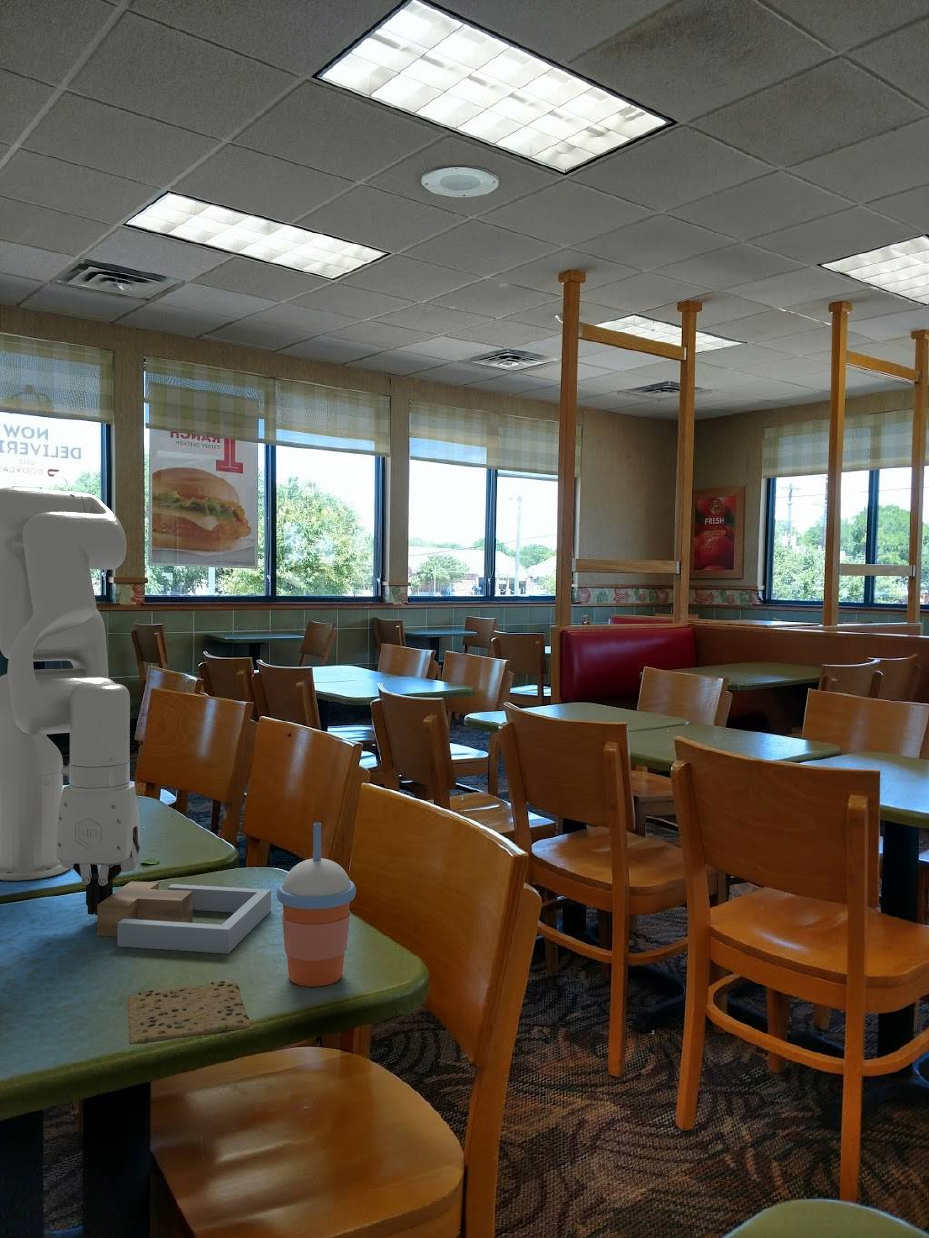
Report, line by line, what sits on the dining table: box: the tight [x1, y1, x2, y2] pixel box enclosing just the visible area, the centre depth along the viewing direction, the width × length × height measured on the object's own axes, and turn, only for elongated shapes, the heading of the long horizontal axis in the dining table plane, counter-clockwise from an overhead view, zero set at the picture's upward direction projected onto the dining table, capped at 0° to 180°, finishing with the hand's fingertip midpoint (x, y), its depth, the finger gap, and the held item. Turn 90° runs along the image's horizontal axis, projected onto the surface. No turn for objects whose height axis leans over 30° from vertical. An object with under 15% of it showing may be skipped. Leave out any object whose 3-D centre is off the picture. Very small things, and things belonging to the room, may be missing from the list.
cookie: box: [127, 980, 251, 1045], centre depth 102 cm, size 12×12×1 cm
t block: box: [96, 880, 194, 937], centre depth 128 cm, size 10×10×4 cm
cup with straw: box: [276, 822, 357, 988], centre depth 111 cm, size 9×9×18 cm
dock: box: [116, 883, 272, 955], centre depth 127 cm, size 16×14×3 cm
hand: (99, 911), depth 128 cm, fingers closed
